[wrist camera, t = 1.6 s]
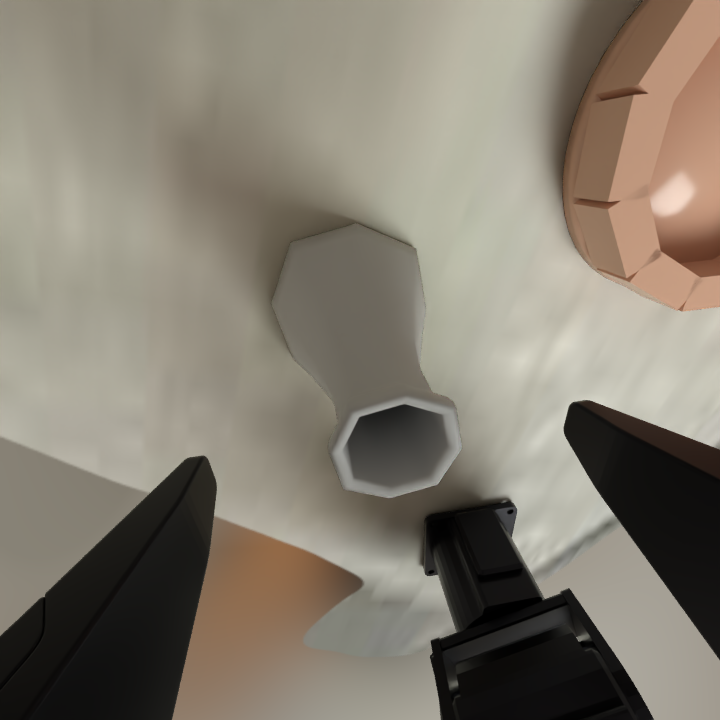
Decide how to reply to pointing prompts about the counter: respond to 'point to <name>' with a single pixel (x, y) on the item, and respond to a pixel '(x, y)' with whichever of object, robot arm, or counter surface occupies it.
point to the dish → (652, 157)
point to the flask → (368, 357)
